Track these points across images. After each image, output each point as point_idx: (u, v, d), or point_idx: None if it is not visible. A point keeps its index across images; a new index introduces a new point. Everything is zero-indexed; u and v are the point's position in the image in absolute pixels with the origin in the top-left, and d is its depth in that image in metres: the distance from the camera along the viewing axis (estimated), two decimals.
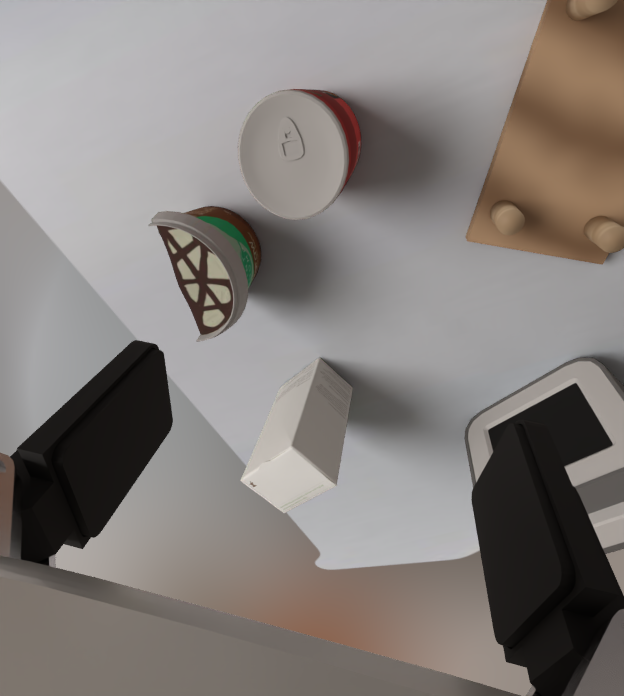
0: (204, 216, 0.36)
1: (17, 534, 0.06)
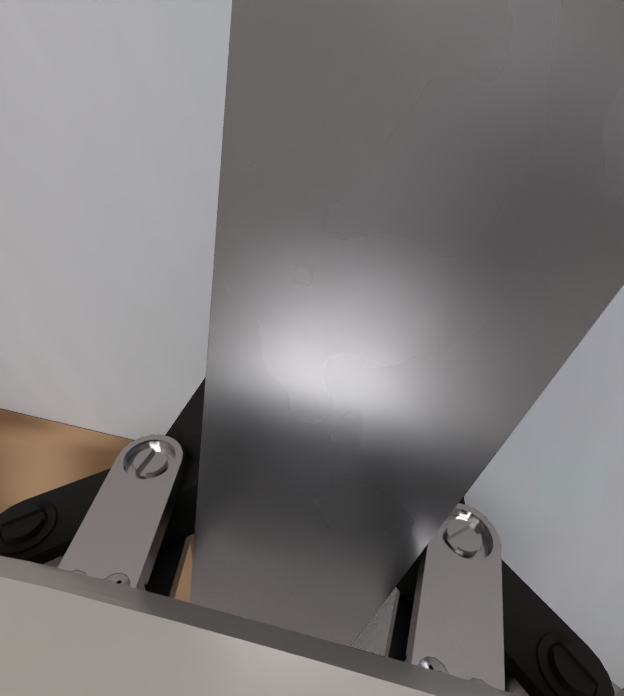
0: None
1: (163, 528, 0.07)
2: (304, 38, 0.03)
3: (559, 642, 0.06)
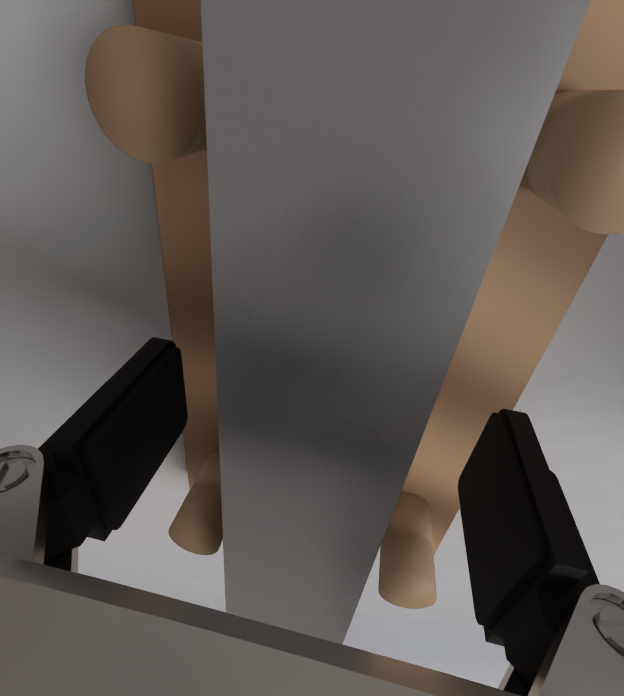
0: None
1: (43, 528, 0.06)
2: (252, 92, 0.04)
3: None
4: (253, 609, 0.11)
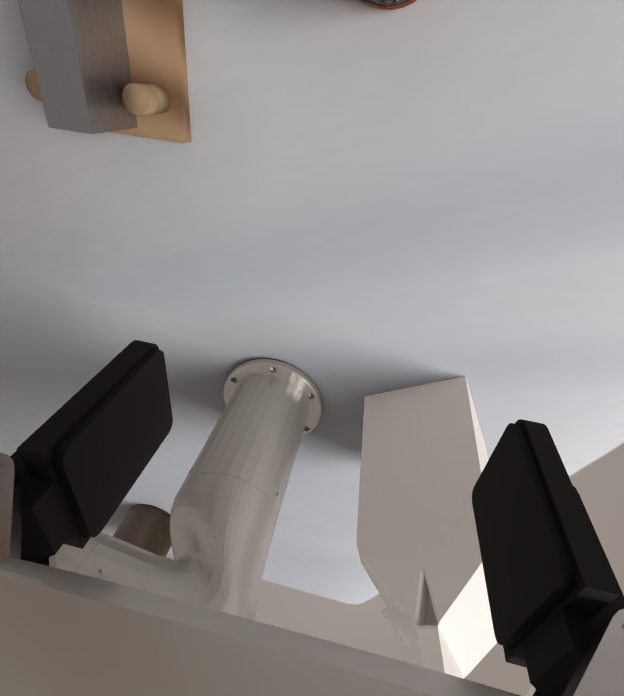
0: None
1: (17, 534, 0.06)
2: None
3: None
4: (42, 54, 0.26)
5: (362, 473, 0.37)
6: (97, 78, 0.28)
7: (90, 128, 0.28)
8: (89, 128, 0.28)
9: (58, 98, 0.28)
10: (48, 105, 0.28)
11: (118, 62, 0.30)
